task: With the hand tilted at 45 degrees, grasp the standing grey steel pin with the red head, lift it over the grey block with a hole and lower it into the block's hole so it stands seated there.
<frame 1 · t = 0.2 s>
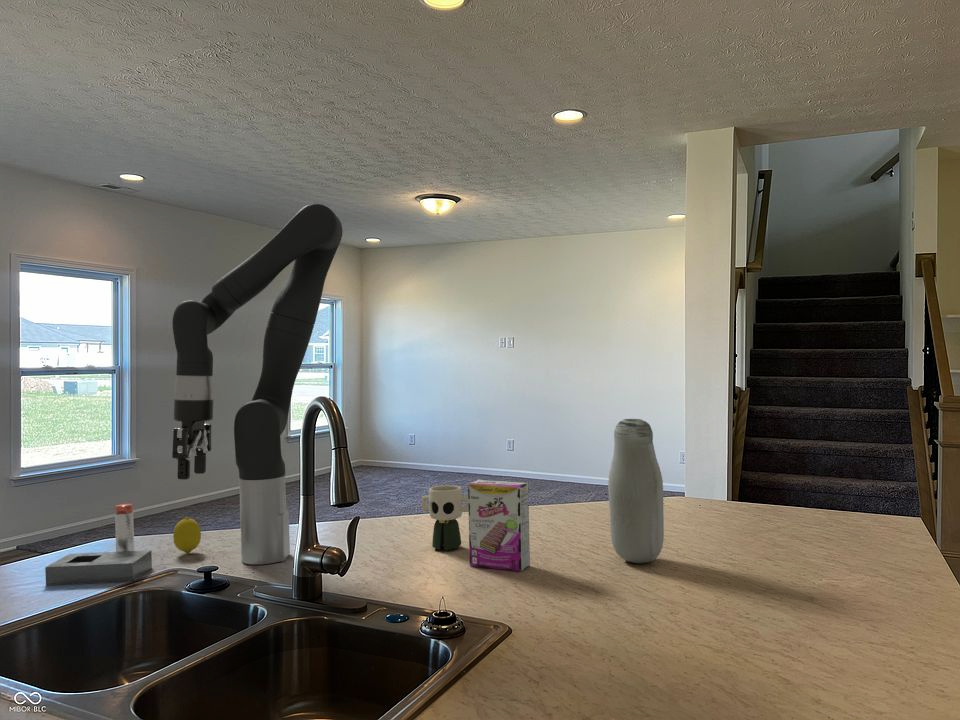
hand: (192, 476, 148), 18 cm above the worktop, tool pointing down, fingers open, 8 cm apart
candy bar box: (499, 567, 140), on the worktop
lemon: (187, 554, 155), on the worktop
grey bottle: (637, 562, 141), on the worktop
pin: (125, 562, 149), on the worktop
grey block with hole: (100, 576, 140), on the worktop
character mug: (446, 549, 154), on the worktop
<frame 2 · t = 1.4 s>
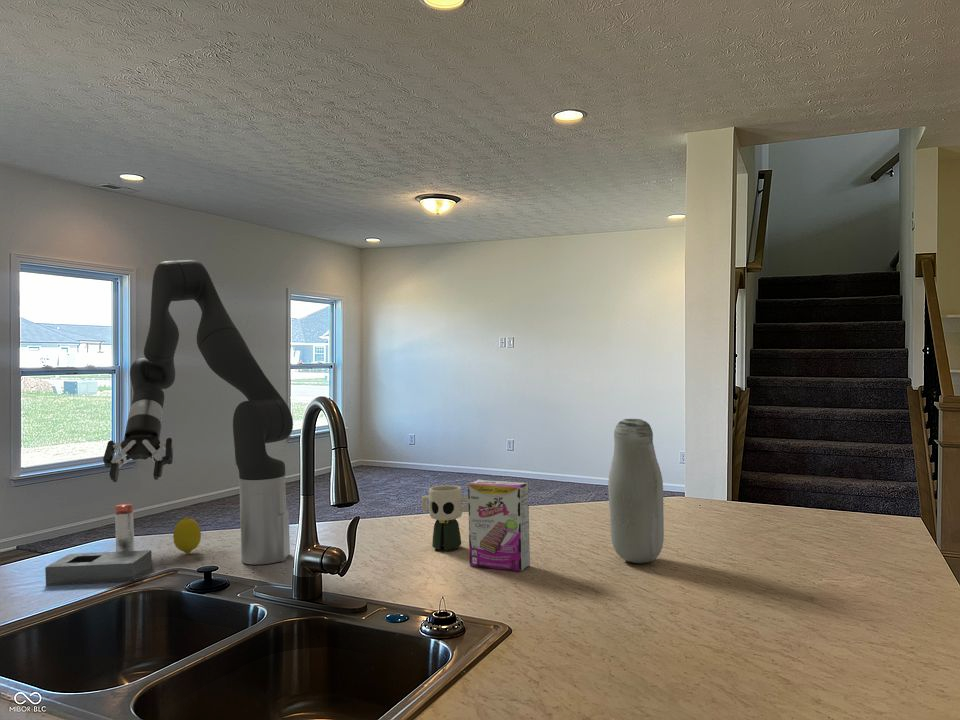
hand: (135, 478, 160), 16 cm above the worktop, tool tilted 45°, fingers open, 8 cm apart
nothing on the worktop moved.
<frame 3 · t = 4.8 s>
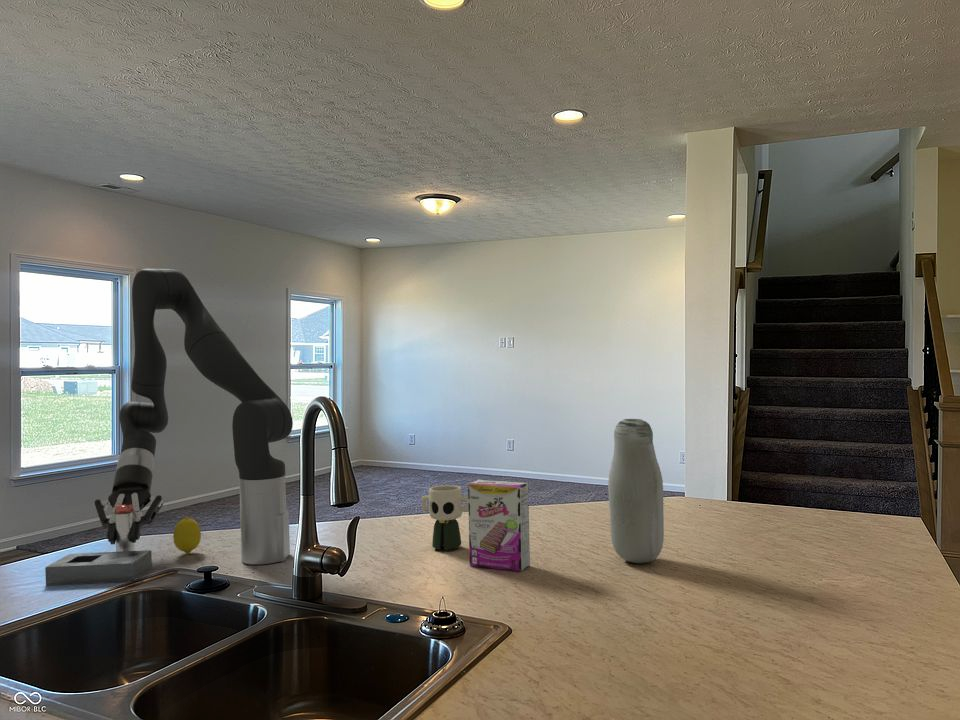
hand: (122, 541, 148), 5 cm above the worktop, tool tilted 45°, fingers closed on pin, 3 cm apart
pin: (125, 562, 149), on the worktop, touching gripper
everything else where it was.
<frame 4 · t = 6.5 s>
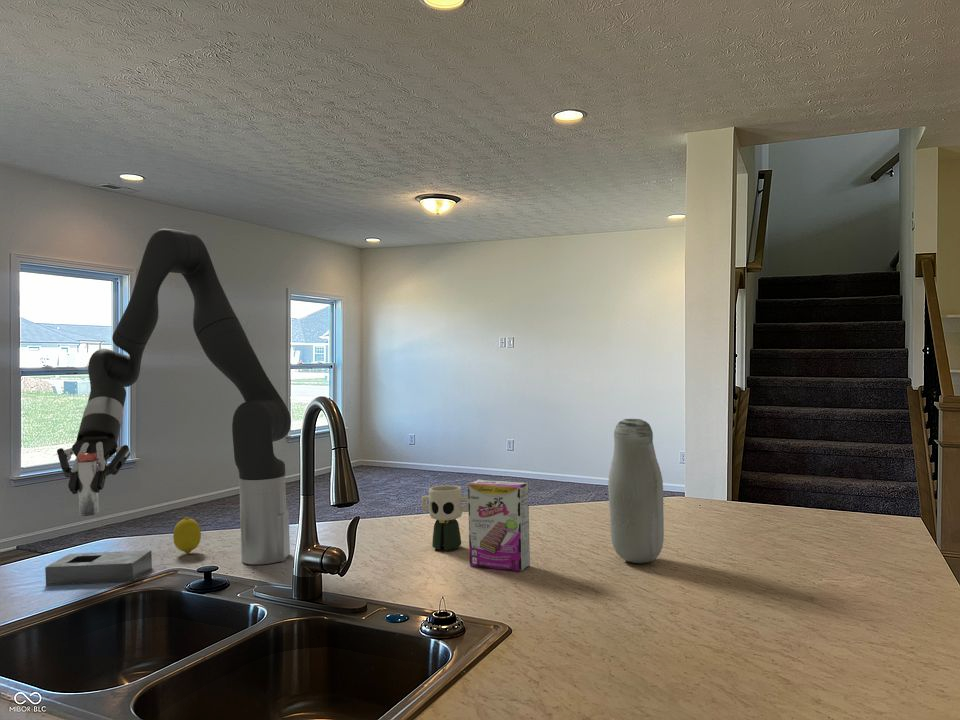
hand: (85, 490, 140), 17 cm above the worktop, tool tilted 45°, fingers closed on pin, 3 cm apart
pin: (89, 514, 142), point 12 cm above the worktop, touching gripper
everything else where it was.
when the fingers open (7 cm above the worktop, at t = 8.7 s): pin drops 2 cm, resting in grey block with hole.
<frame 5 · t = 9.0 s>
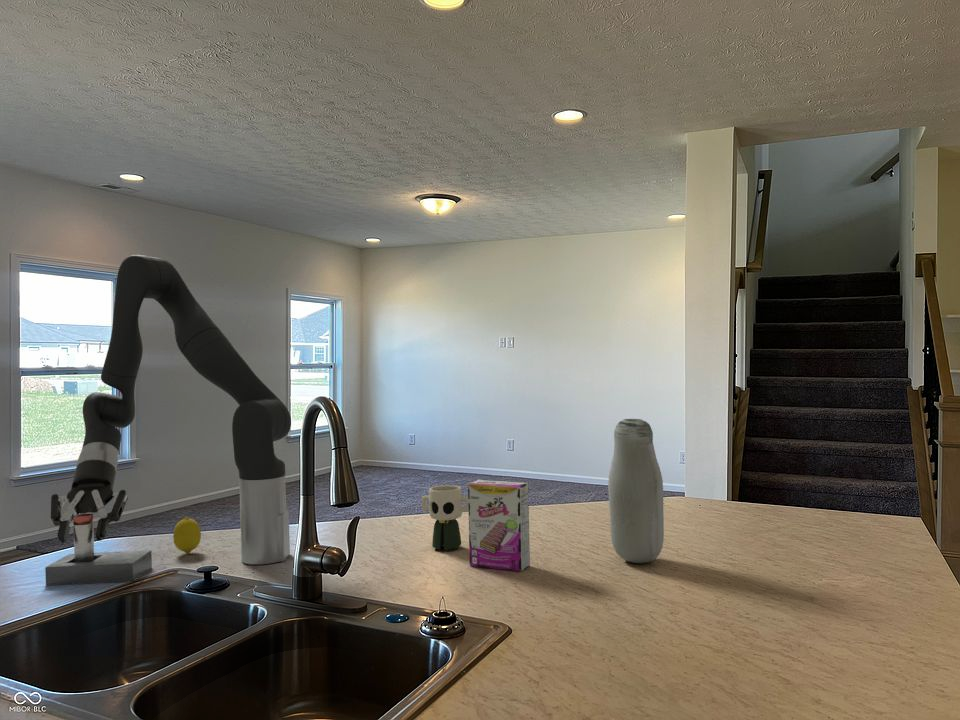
hand: (81, 539, 138), 8 cm above the worktop, tool tilted 45°, fingers open, 5 cm apart
pin: (85, 576, 140), resting in grey block with hole
everything else where it was.
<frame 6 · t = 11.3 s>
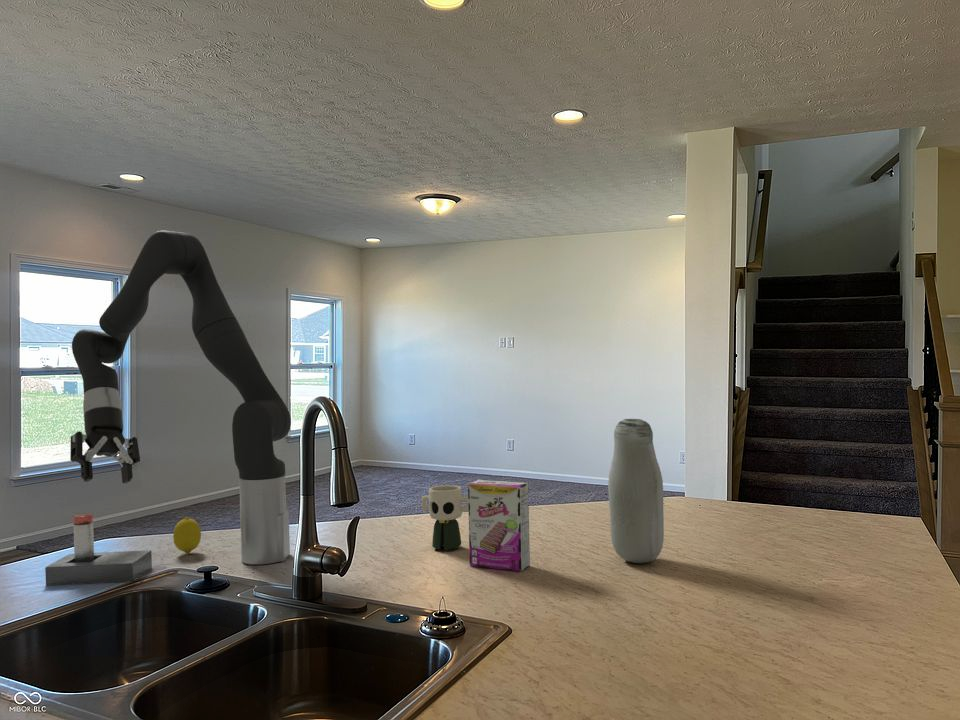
hand: (108, 481, 154), 16 cm above the worktop, tool tilted 25°, fingers open, 8 cm apart
nothing on the worktop moved.
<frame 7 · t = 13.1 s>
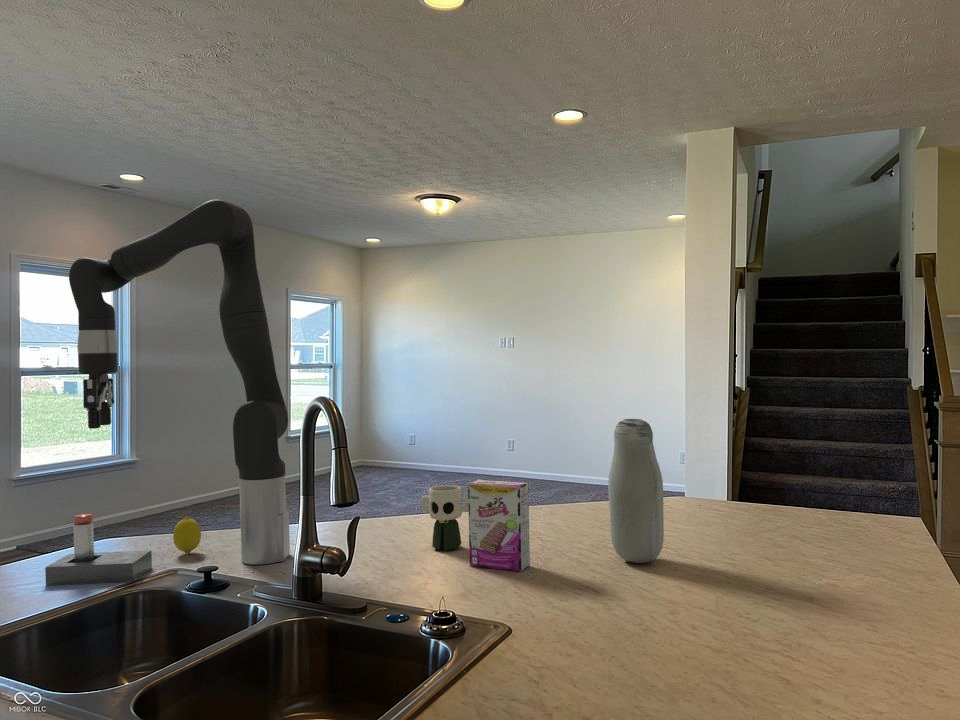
hand: (100, 426, 155), 28 cm above the worktop, tool pointing down, fingers open, 8 cm apart
nothing on the worktop moved.
at the end: pin 0.1 cm from the target spot on the grey block with hole, point 0.0 cm above the grey block with hole's base; pin tilted 0°; the gripper is holding nothing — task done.
